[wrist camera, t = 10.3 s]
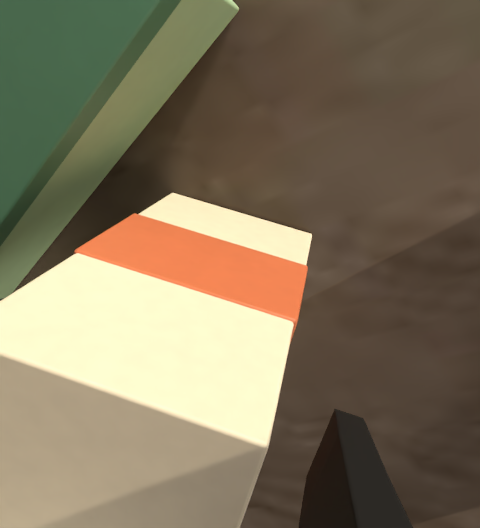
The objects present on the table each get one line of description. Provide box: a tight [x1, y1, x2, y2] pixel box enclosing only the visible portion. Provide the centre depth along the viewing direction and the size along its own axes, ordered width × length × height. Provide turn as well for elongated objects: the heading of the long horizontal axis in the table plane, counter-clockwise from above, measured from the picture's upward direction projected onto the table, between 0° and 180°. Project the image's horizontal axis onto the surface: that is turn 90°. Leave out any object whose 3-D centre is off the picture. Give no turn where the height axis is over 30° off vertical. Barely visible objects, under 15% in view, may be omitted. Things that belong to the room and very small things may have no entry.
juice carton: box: [0, 193, 312, 528], centre depth 11 cm, size 4×6×8 cm
